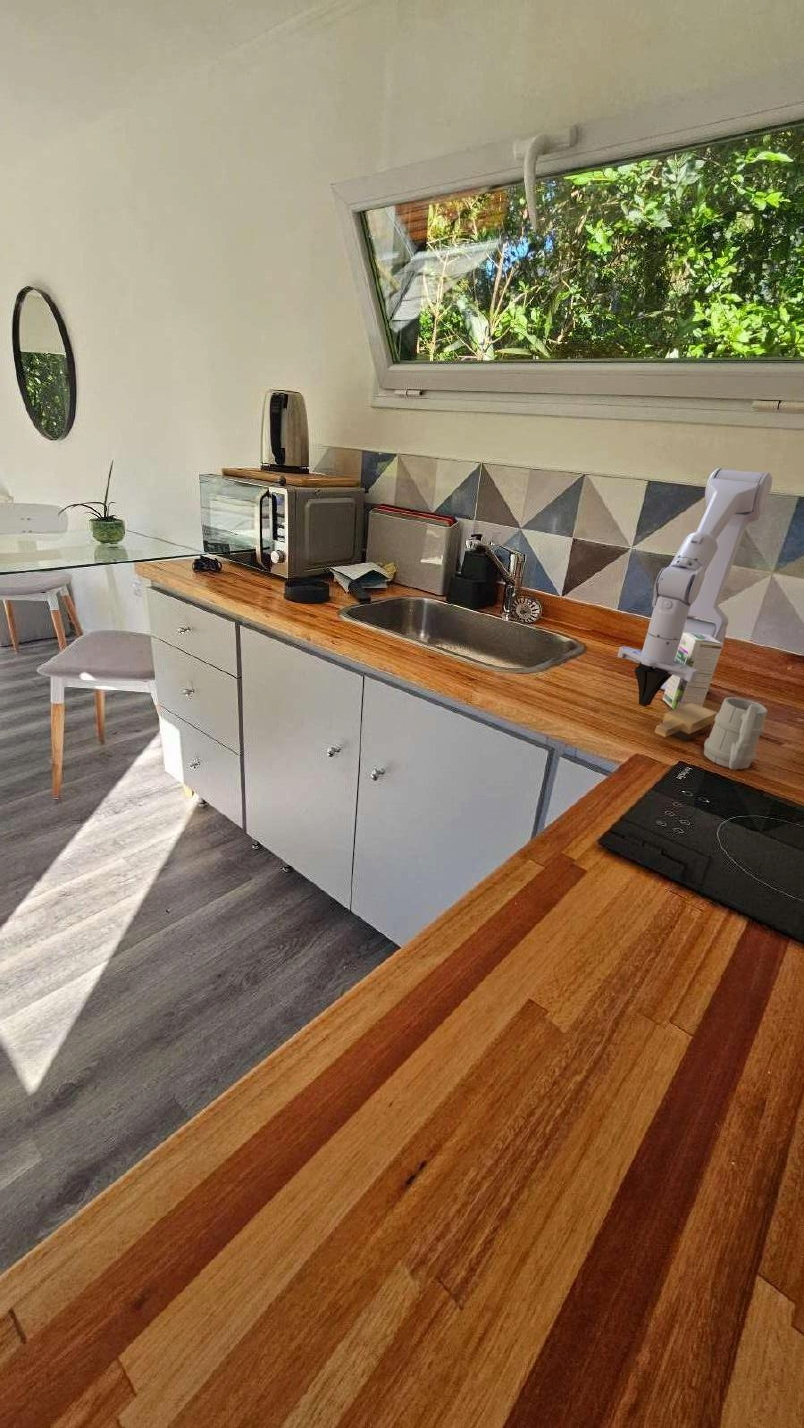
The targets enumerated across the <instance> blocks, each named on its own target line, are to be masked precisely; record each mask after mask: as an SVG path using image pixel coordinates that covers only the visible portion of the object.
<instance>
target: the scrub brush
mask: <svg viewBox="0 0 804 1428" xmlns="http://www.w3.org/2000/svg"><path fill="white" fill-rule="evenodd" d="M717 713H719V711H715V710H712V709H709V708H707V707H704V706H699V705H696V704H694V703H690V704H687V705H685V706H682V707H680V708H677V709H675V710H673V709H672V710H670V711H667V712H664V716H663V719H662V722H661V723H659V724H657V725H656V727H655V730H654V733H655V734H657V735H659V736H661V737H663V738H666V737H669V736H672V737H674V738H677V739H679V740H681V741H684V742H687V741H689V740H691V739H693V738H696V737H697V736H699V735H701V734H704V733H706V732H708V731H710V730H711V727H712V724H715V717H716V714H717Z"/></svg>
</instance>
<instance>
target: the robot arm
mask: <svg viewBox="0 0 804 1428" xmlns="http://www.w3.org/2000/svg"><path fill="white" fill-rule="evenodd" d="M772 485H773V476H772V474H771V473H770V472H756V471H747V470H746V471H744V470H737V469H736V470H734V469H726V468H725V469H724V468H722V467H721V468H720V467H718V468H717V467H716V469H715V470H714V471H712V472H711V473H710V476H709V477H708V479H707V483H706V485H705V490H704V500H705V506H706V509H705V512H704V514H703V516H702V518H701V520H700V523H699V525H698V527H697V528H696V531H695V532H692V533H690V534H688V535H687V536H686V537H685V538H684V540H683V542H682V544H681V545H680V547H679V549H678V550H677V552H676V554H675V556H674V557H673V559H672V561H671V562H670V564H669V565H668V566H666V567H662V568H661V569H660V571H659V572H658V574H657V576H656V579H655V582H654V585H653V598H652V602H651V607H652V608H653V610H652V613H651V617H650V621H649V625H648V628H647V631H646V636H645V639H644V643H643V647H642V650H641V649H639V648H638V649H637V648H633V647H629V646H626V645H624V646H620V647H619V648H618V652H617V655H616V657H617V658H619V659H625V660H629V661H632V662H634V663H637V664H638V665H637V666H636V667H635V668H634V674H635V677H636V681H637V686H638V705H640V706H642V707H648V706H650V705H652V702H653V700H654V699H655V697H656V695H657V694H658V692H659V691H660V690H663V691H665V690H666V686H667V683H668V680H669V678H670V677H671V676H672V675H675V676H678V677H681V678H683V679H685V680H686V681H688V682H691V681H694V680H695V679H696V676H697V673H698V670H696V669H693V668H691V667H689V666H687V665H684V664H682V663H680V662H678V661H676V660H675V657H676V654H677V651H678V648H679V644H680V641H681V638H682V635H683V633H700V634H705V635H710V636H711V637H712V638H714V639H716V640H717V641H719V642H721V643H723V644H724V642H725V638H726V635H727V628H728V625H729V617H728V616H727V615H726V613H725V612H724V611H723V610H722V609H721V607H720V602H721V600H722V597H723V594H724V590H725V588H726V584H727V582H728V579H729V576H730V573H731V571H732V568H733V564H734V561H735V559H736V555H737V553H738V550H739V547H740V544H741V541H742V538H743V536H744V532H745V531H746V529H747V527H748V525H749V523H753V522H757V521H760V519H761V516H762V514H763V513H764V510H765V507H766V504H767V502H768V499H769V496H770V493H771V489H772ZM709 691H710V688H708V692H709Z"/></svg>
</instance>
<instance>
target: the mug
mask: <svg viewBox="0 0 804 1428" xmlns="http://www.w3.org/2000/svg"><path fill="white" fill-rule="evenodd" d="M767 714H768V709H767V708H766V706H765V705H763V704H761V703H759V702H757V701H755V700H751V699H746V698H741V697H739V696H738V697H736V696H735V697H734V696H729V697H725V698H724V699H723V701H722V704H721V705H720V709H719V711H718V713H717V714H716V717H715V722H714V723H713V727H712V729H711V731H710V734H709V737H708V738H706V739H705V740H704V744H703V747H704V749H703V755H704V757H706V758H707V759H708V760H709V761H711V762H712V763H715V764H717V765H719V766H722V767H724V768H729V769H730V770H737V769H738V770H743V769H748V768H750V766H751V764H752V762H754V761H755V760H756V757H757V756H756V755H757V753H756V748H757V745H758V741H759V739H760V736H761V735H763V732H764V729H765V725H764V724H765V721H766V718H767Z"/></svg>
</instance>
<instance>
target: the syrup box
mask: <svg viewBox="0 0 804 1428" xmlns="http://www.w3.org/2000/svg"><path fill="white" fill-rule="evenodd" d="M723 647H724V642H723V643H721V642H719V641H717V640H716V639H714V638H712V637H711V636H710V635H705V634H700V633H683V635H682V638H681V641H680V644H679V648H678V651H677V654H676V657H675V660H676V661H678V662H680V663H682V664H684V665H687V666H689V667H691V668H693V669H696V670H698V673H697V676H696V679H695V680H694V681H691V682H688V681H686V680H685V679H683V678H681V677H678V676H675V675H672V676H671V677H670V678H669V680H668V683H667V686H666V690H664V694H663V696H662V701H663V702H665V703H666V704H667V705H668V706H669V707H670V708H671V709H672V710H675V709H677V708H680V707H682V706H685V705H687V704H690V703H694V704H696V705H699V706H702V707H704V703H705V700H706V697H707V694H708V692H709V691H708V689H710V685H711V683H712V679H713V677H714V673H715V670H716V669H717V665H718V661H719V659H720V656H721V652H722V650H723Z"/></svg>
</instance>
